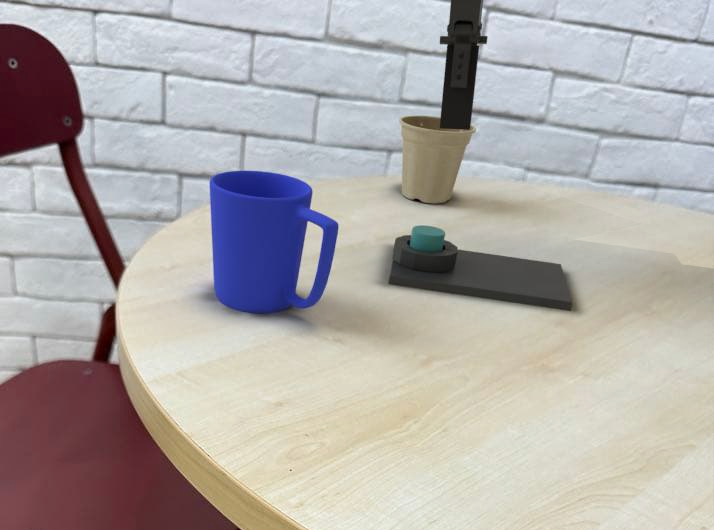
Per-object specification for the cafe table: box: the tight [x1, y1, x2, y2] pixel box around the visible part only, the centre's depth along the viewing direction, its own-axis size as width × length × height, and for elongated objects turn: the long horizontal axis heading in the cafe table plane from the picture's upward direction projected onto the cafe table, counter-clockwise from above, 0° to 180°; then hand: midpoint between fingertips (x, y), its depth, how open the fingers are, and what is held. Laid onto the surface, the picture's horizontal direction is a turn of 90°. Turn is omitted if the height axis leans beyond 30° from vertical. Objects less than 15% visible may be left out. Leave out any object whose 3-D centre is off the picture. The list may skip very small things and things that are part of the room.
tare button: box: [409, 224, 446, 252], centre depth 82 cm, size 3×3×2 cm
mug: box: [208, 170, 339, 314], centre depth 69 cm, size 8×12×10 cm
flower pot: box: [398, 114, 477, 204], centre depth 105 cm, size 9×9×9 cm
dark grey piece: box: [387, 234, 573, 311], centre depth 82 cm, size 17×11×3 cm, turn 82°
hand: (455, 127), depth 77 cm, fingers closed
